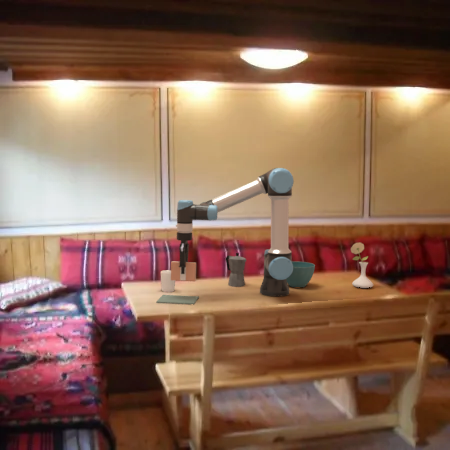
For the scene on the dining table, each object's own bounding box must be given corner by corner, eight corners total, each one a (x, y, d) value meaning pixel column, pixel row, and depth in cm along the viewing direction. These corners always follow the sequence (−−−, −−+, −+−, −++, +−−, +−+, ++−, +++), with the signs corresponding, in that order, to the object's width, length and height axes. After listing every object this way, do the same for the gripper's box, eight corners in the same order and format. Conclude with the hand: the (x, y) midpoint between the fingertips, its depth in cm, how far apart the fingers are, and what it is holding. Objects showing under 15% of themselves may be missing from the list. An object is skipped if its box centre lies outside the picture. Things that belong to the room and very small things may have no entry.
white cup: (161, 292, 306) (161, 273, 305) (159, 289, 314) (159, 270, 313) (176, 292, 308) (176, 272, 307) (174, 288, 316) (174, 270, 315)
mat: (198, 297, 297) (198, 296, 297) (193, 304, 282) (193, 303, 282) (162, 295, 299) (162, 294, 299) (156, 302, 284) (156, 301, 284)
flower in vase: (371, 285, 336) (373, 241, 333) (374, 289, 325) (376, 244, 322) (347, 284, 337) (350, 240, 335) (350, 288, 326) (352, 243, 323)
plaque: (195, 280, 293) (196, 262, 293) (195, 281, 291) (195, 263, 290) (171, 279, 295) (172, 261, 294) (170, 280, 293) (171, 262, 292)
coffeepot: (251, 286, 327) (252, 253, 325) (239, 288, 320) (239, 255, 319) (231, 281, 338) (232, 250, 336) (219, 283, 332) (220, 251, 330)
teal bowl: (320, 288, 325) (321, 266, 323) (290, 290, 318) (291, 267, 317) (303, 282, 341) (304, 260, 340) (275, 283, 335) (275, 262, 333)
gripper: (179, 229, 298) (178, 276, 301) (173, 233, 283) (172, 282, 286) (194, 230, 298) (193, 277, 300) (189, 234, 283) (188, 283, 285)
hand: (183, 279), depth 293 cm, fingers closed on plaque, 2 cm apart
